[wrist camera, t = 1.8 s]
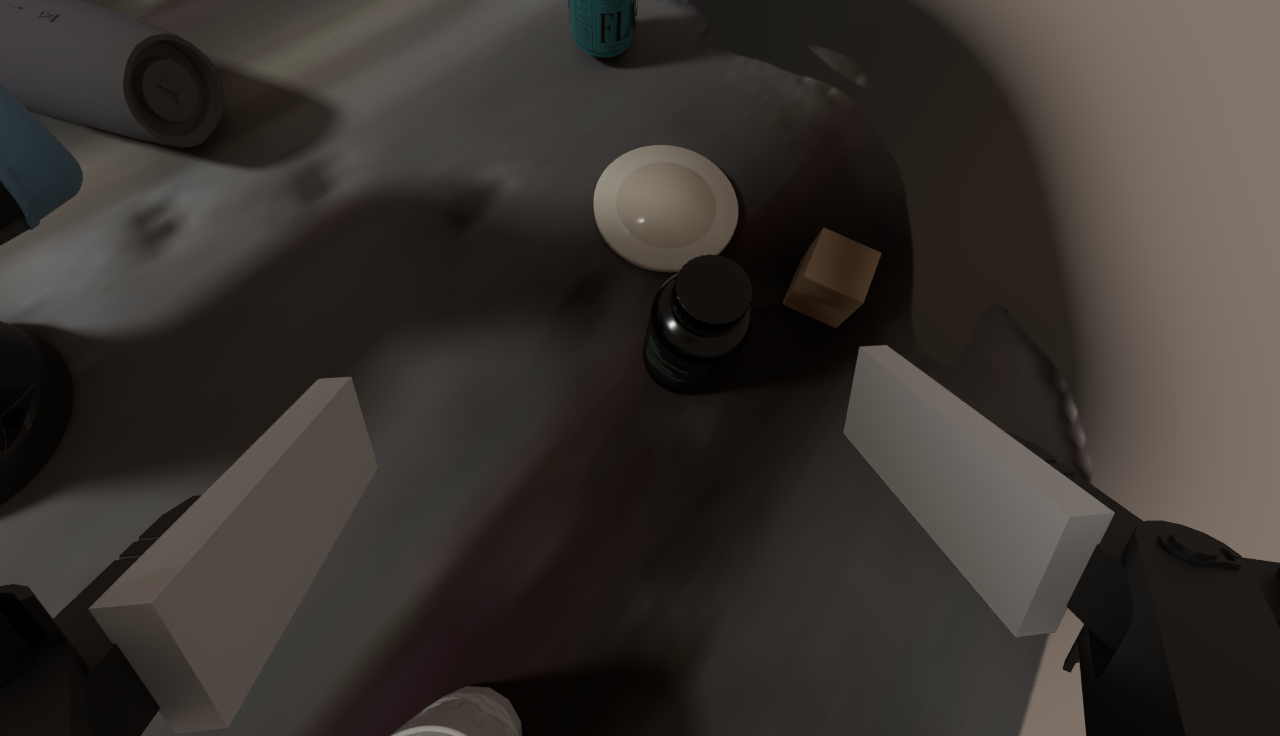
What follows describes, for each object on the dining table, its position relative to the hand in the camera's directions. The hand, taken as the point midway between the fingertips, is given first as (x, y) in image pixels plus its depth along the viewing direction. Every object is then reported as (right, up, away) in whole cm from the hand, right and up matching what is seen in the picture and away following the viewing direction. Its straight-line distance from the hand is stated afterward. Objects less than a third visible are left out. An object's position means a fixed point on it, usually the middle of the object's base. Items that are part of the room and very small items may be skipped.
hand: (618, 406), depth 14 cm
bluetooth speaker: (-47, +24, +33) cm, 62 cm away
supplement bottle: (+4, +2, +29) cm, 29 cm away
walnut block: (+16, +8, +32) cm, 36 cm away
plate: (+3, +15, +33) cm, 37 cm away
